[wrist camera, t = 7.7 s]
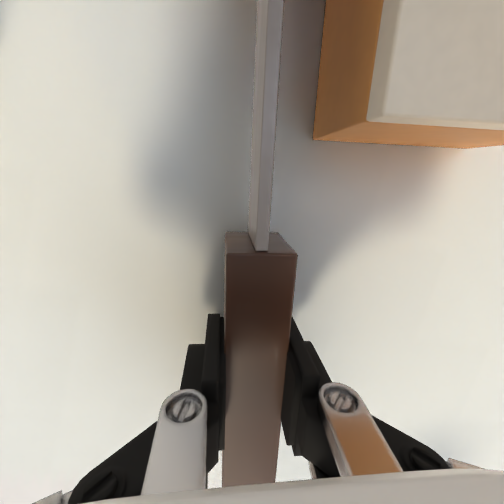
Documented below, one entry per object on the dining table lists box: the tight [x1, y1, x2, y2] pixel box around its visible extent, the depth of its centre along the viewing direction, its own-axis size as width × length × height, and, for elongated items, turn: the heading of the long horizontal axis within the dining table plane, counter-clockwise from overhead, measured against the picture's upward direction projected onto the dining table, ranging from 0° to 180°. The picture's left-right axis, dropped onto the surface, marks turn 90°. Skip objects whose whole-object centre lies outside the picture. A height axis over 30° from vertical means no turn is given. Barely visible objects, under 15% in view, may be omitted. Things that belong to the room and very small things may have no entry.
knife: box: [222, 0, 298, 487], centre depth 9 cm, size 2×19×3 cm, turn 178°
